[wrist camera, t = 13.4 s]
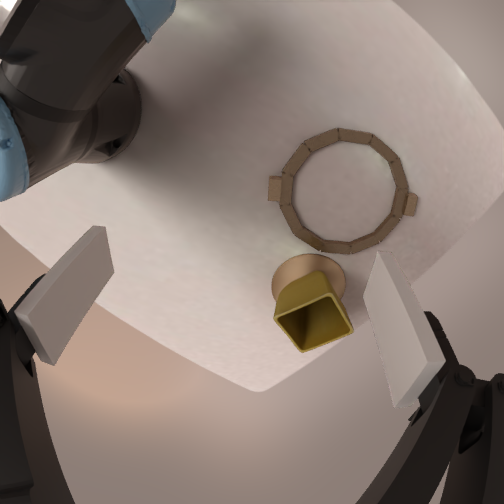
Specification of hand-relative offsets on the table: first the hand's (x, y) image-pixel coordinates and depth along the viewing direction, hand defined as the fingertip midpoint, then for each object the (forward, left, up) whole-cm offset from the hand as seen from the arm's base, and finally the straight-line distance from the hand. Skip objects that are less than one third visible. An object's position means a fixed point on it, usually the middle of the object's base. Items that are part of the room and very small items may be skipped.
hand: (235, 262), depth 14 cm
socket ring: (+12, -5, -28) cm, 31 cm away
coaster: (+9, -21, -28) cm, 36 cm away
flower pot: (+9, -21, -28) cm, 36 cm away
